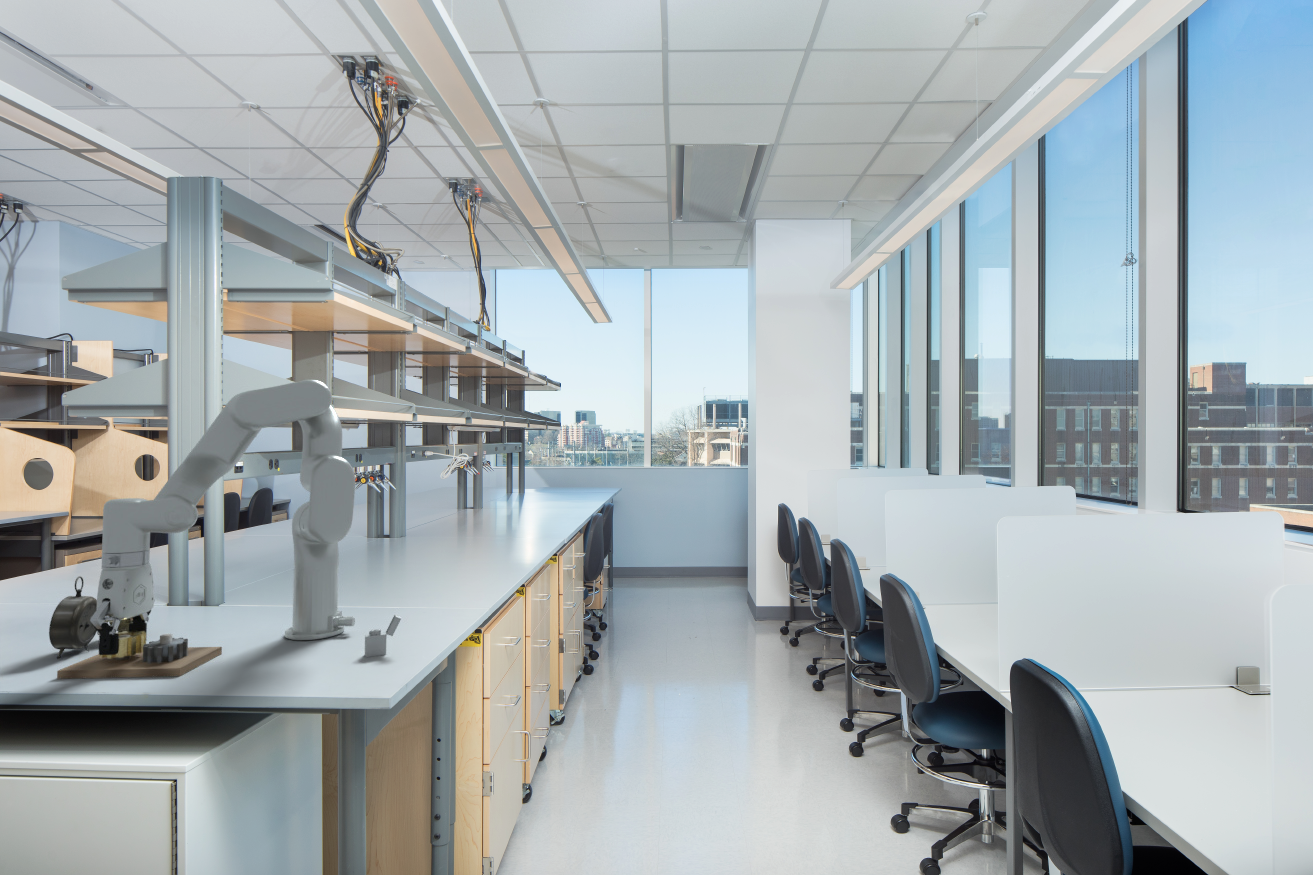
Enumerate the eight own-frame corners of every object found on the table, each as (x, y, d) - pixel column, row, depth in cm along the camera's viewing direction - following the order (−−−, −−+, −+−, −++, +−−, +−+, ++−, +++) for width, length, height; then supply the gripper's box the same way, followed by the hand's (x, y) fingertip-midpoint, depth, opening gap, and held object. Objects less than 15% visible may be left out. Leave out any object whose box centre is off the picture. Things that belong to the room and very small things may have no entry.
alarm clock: (76, 646, 145) (78, 572, 145) (105, 644, 147) (107, 571, 147) (45, 661, 135) (48, 581, 135) (77, 659, 136) (79, 580, 136)
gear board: (221, 653, 140) (222, 625, 140) (180, 675, 126) (180, 644, 127) (111, 655, 138) (112, 627, 138) (57, 678, 124) (58, 646, 125)
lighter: (365, 657, 139) (365, 618, 139) (364, 654, 140) (365, 617, 141) (400, 652, 142) (401, 615, 143) (399, 650, 144) (400, 613, 144)
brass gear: (154, 647, 136) (154, 630, 136) (129, 657, 129) (129, 640, 129) (116, 647, 135) (117, 630, 135) (89, 658, 128) (89, 640, 128)
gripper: (114, 567, 124) (111, 661, 124) (173, 553, 142) (171, 636, 141) (71, 567, 124) (68, 662, 123) (136, 553, 141) (133, 636, 140)
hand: (123, 647), depth 132 cm, fingers closed on brass gear, 7 cm apart
